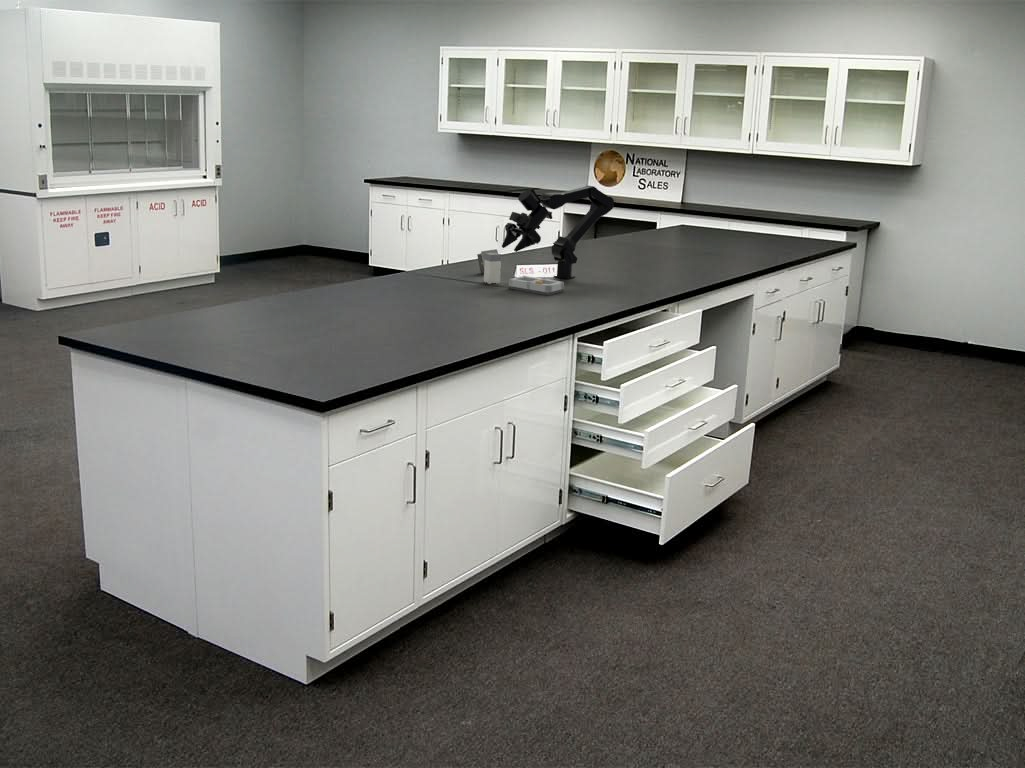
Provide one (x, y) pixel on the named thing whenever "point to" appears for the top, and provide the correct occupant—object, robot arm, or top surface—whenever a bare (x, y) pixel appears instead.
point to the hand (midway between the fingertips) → (508, 249)
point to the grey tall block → (492, 268)
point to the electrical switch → (482, 257)
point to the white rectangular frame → (536, 285)
